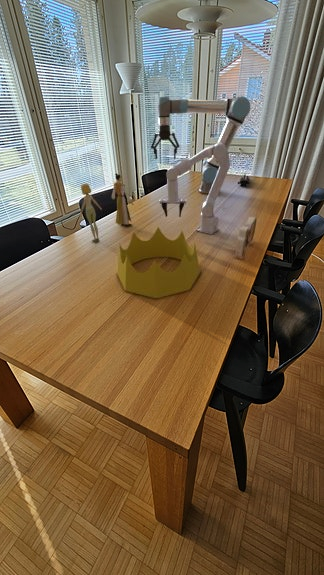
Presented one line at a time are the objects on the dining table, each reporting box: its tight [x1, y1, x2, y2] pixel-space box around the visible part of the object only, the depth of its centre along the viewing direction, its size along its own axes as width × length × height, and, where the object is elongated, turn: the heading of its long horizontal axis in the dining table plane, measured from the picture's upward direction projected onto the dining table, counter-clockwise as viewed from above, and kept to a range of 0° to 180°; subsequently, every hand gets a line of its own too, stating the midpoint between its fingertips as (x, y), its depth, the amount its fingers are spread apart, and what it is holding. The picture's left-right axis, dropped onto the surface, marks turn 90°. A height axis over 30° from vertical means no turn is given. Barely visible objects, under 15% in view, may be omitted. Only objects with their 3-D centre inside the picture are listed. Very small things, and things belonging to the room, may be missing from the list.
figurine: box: [110, 173, 134, 228], centre depth 153 cm, size 19×9×30 cm, turn 47°
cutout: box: [235, 216, 258, 260], centre depth 125 cm, size 15×3×25 cm
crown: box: [116, 226, 201, 299], centre depth 110 cm, size 36×36×15 cm
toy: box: [237, 173, 251, 188], centre depth 230 cm, size 10×5×30 cm
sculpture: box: [79, 183, 103, 243], centre depth 136 cm, size 13×5×30 cm, turn 134°
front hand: (173, 216), depth 149 cm, fingers open, 7 cm apart
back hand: (165, 158), depth 192 cm, fingers open, 13 cm apart
